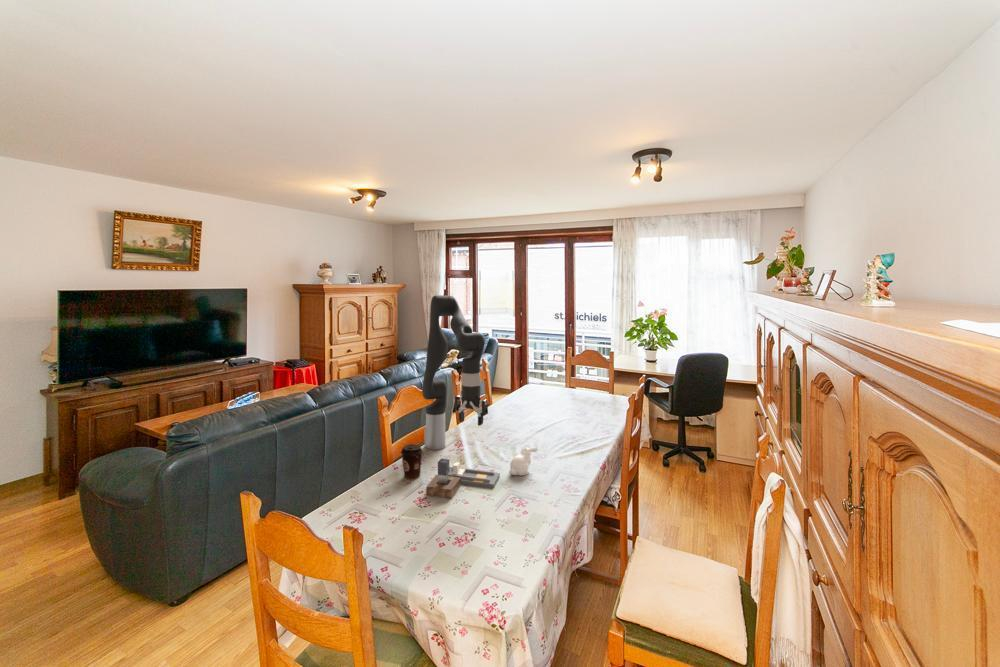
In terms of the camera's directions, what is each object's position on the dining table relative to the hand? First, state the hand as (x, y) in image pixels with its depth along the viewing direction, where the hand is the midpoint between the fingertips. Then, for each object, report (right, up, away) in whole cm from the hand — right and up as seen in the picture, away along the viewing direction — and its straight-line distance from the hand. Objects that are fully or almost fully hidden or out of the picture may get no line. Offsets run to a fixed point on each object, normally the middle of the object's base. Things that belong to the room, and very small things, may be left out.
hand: (471, 423), depth 171 cm
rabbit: (+21, -24, +12) cm, 34 cm away
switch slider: (-5, -22, +5) cm, 23 cm away
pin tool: (-10, -25, -6) cm, 27 cm away
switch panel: (0, -24, +4) cm, 24 cm away
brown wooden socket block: (-10, -25, -6) cm, 28 cm away
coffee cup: (-25, -24, +6) cm, 35 cm away
